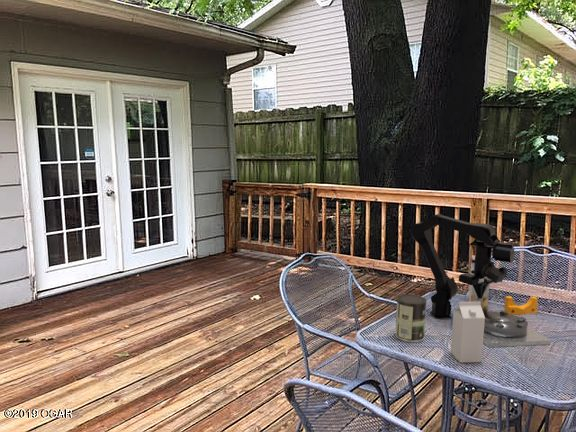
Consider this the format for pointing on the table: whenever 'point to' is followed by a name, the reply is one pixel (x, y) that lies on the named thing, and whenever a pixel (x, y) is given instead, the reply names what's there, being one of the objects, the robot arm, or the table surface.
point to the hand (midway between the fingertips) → (479, 298)
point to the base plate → (515, 339)
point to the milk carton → (468, 332)
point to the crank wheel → (503, 322)
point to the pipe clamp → (520, 310)
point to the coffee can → (410, 318)
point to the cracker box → (472, 294)
